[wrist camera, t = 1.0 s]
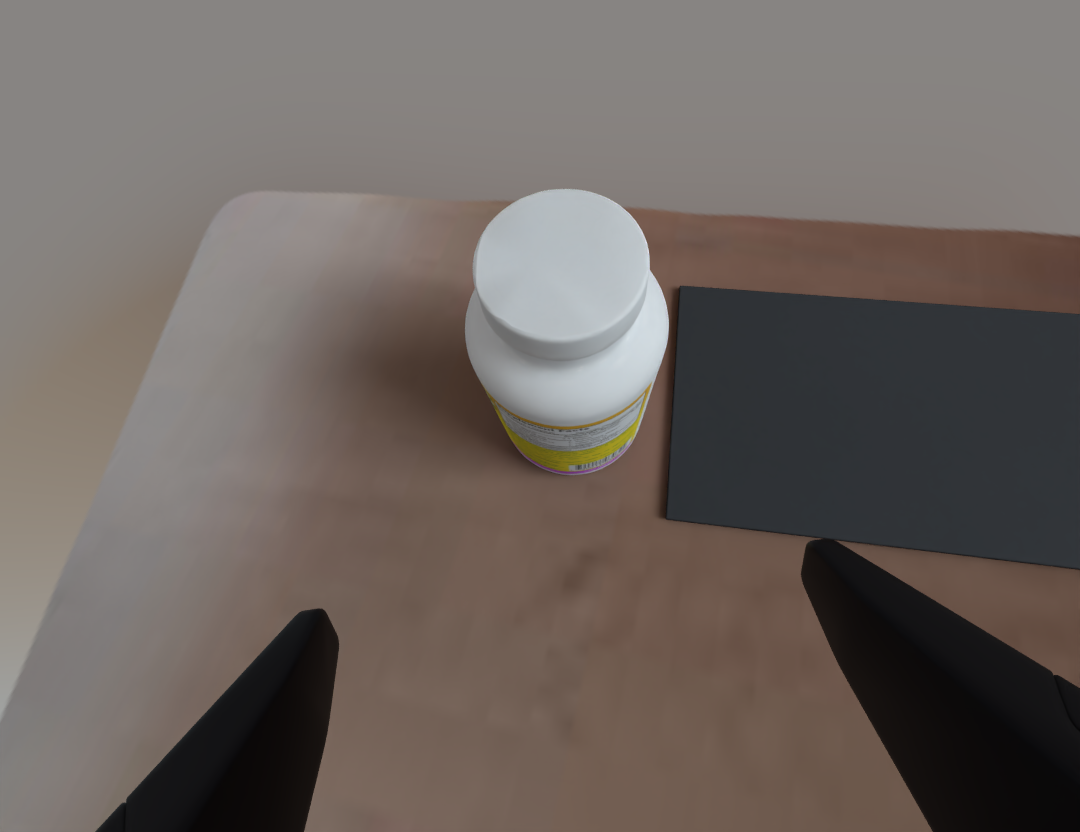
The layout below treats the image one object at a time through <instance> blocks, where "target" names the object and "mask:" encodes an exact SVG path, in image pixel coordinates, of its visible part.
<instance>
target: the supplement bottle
mask: <svg viewBox="0 0 1080 832" xmlns="http://www.w3.org/2000/svg"><path fill="white" fill-rule="evenodd" d="M649 268H650V259H649V250H648V246H647V242H646V239H645V237H644V234H643V232H642V230H641V229H640V227H639V225H638V224H637V222H636V221H635V220H634V219H633V217H632V216H631V215H630V214H629V213H628V212H627V211H626V210H625V209H623V208H622V207H621V206H620V205H618V204H617V203H615V202H613V201H612V200H610V199H608V198H606V197H603V196H601V195H599V194H596V193H593V192H588V191H584V190H576V189H553V190H546V191H542V192H538V193H534V194H531V195H528V196H526V197H523V198H521V199H519V200H517V201H515V202H514V203H512V204H510V205H509V206H508V207H506V208H505V209H503V210H502V211H501V212H500V213H499V214H498V215H497V216H496V217H495V218H494V219H493V220H492V221H491V222H490V223H489V225H488V226H487V227H486V229H485V230H484V232H483V233H482V235H481V237H480V239H479V241H478V244H477V247H476V250H475V253H474V259H473V280H474V285H475V290H474V292H473V294H472V296H471V299H470V302H469V305H468V309H467V314H466V319H465V339H466V346H467V351H468V355H469V358H470V361H471V364H472V366H473V368H474V370H475V372H476V375H477V377H478V378H479V380H480V382H481V384H482V386H483V388H484V389H485V391H486V393H487V395H488V397H489V399H490V401H491V403H492V404H493V406H494V408H495V410H496V412H497V414H498V416H499V418H500V420H501V422H502V424H503V426H504V428H505V429H506V431H507V433H508V435H509V437H510V438H511V440H512V442H513V443H514V445H515V446H516V448H517V449H518V450H519V451H520V453H521V454H522V455H523V456H524V457H525V458H527V459H528V460H529V461H530V462H532V463H533V464H535V465H536V466H538V467H540V468H542V469H544V470H547V471H550V472H554V473H557V474H563V475H582V474H588V473H592V472H595V471H598V470H600V469H602V468H604V467H606V466H608V465H610V464H611V463H613V462H614V461H616V460H617V459H618V458H619V457H620V456H621V455H622V454H623V453H624V452H625V451H626V450H627V449H628V448H629V446H630V445H631V443H632V442H633V440H634V438H635V436H636V434H637V432H638V429H639V426H640V424H641V421H642V418H643V415H644V412H645V409H646V406H647V403H648V400H649V396H650V393H651V390H652V387H653V384H654V381H655V378H656V375H657V373H658V370H659V367H660V365H661V362H662V359H663V356H664V353H665V349H666V346H667V340H668V330H669V319H668V312H667V306H666V302H665V299H664V296H663V293H662V290H661V288H660V286H659V284H658V282H657V280H656V279H655V277H654V275H653V274H652V273H651V271H650V270H649Z"/></svg>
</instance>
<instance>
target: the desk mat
mask: <svg viewBox="0 0 1080 832" xmlns="http://www.w3.org/2000/svg"><path fill="white" fill-rule="evenodd" d="M666 519H667V520H675V521H683V522H691V523H700V524H708V525H716V526H724V527H733V528H741V529H749V530H758V531H766V532H774V533H782V534H791V535H799V536H807V537H815V538H824V539H832V540H840V541H848V542H857V543H865V544H873V545H881V546H890V547H898V548H906V549H914V550H923V551H931V552H939V553H948V554H956V555H964V556H972V557H981V558H989V559H997V560H1005V561H1014V562H1022V563H1030V564H1038V565H1047V566H1055V567H1063V568H1071V569H1080V314H1069V313H1055V312H1041V311H1027V310H1013V309H999V308H985V307H971V306H957V305H943V304H929V303H915V302H901V301H887V300H873V299H859V298H845V297H831V296H817V295H803V294H789V293H775V292H761V291H747V290H733V289H719V288H705V287H691V286H680V288H679V303H678V320H677V337H676V353H675V370H674V387H673V403H672V420H671V437H670V454H669V470H668V487H667V504H666Z"/></svg>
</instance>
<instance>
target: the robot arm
mask: <svg viewBox="0 0 1080 832" xmlns="http://www.w3.org/2000/svg"><path fill="white" fill-rule="evenodd" d="M801 577H802V582H803V585H804V588H805V590H806V592H807V594H808V597H809V599H810V601H811V604H812V606H813V608H814V610H815V613H816V615H817V617H818V620H819V622H820V624H821V626H822V629H823V631H824V633H825V636H826V638H827V640H828V642H829V645H830V647H831V649H832V652H833V654H834V656H835V658H836V660H837V662H838V664H839V666H840V668H841V670H842V672H843V674H844V675H845V677H846V679H847V681H848V683H849V684H850V686H851V688H852V690H853V691H854V693H855V695H856V697H857V698H858V700H859V702H860V704H861V706H862V707H863V709H864V711H865V713H866V714H867V716H868V718H869V720H870V721H871V723H872V725H873V727H874V729H875V730H876V732H877V734H878V736H879V737H880V739H881V741H882V743H883V744H884V746H885V748H886V750H887V751H888V753H889V755H890V757H891V759H892V760H893V762H894V764H895V766H896V767H897V769H898V771H899V773H900V774H901V776H902V778H903V780H904V781H905V783H906V785H907V787H908V789H909V790H910V792H911V794H912V796H913V797H914V799H915V801H916V803H917V804H918V806H919V808H920V810H921V812H922V813H923V815H924V817H925V819H926V820H927V822H928V824H929V826H930V827H931V829H932V831H933V832H1080V688H1079V687H1077V686H1075V685H1074V684H1072V683H1070V682H1069V681H1067V680H1065V679H1064V678H1062V677H1060V676H1058V675H1054V676H1053V673H1052V672H1051V671H1050V670H1048V669H1047V668H1045V667H1043V666H1042V665H1040V664H1039V663H1037V662H1035V661H1034V660H1032V659H1030V658H1029V657H1027V656H1025V655H1024V654H1022V653H1020V652H1019V651H1017V650H1015V649H1014V648H1012V647H1010V646H1009V645H1007V644H1005V643H1004V642H1002V641H1000V640H999V639H997V638H996V637H994V636H992V635H991V634H989V633H987V632H986V631H984V630H982V629H981V628H979V627H977V626H976V625H974V624H972V623H971V622H969V621H967V620H966V619H964V618H962V617H961V616H959V615H957V614H956V613H954V612H953V611H951V610H949V609H948V608H946V607H944V606H943V605H941V604H939V603H938V602H936V601H934V600H933V599H931V598H929V597H928V596H926V595H924V594H923V593H921V592H919V591H918V590H916V589H914V588H913V587H911V586H910V585H908V584H906V583H905V582H903V581H901V580H900V579H898V578H896V577H895V576H893V575H891V574H890V573H888V572H886V571H885V570H883V569H881V568H880V567H878V566H876V565H875V564H873V563H872V562H870V561H868V560H867V559H865V558H863V557H862V556H860V555H858V554H857V553H855V552H853V551H852V550H850V549H848V548H847V547H845V546H843V545H842V544H840V543H838V542H837V541H835V540H832V539H821V540H813V541H810V542H808V544H807V545H806V548H805V554H804V559H803V565H802V570H801ZM338 652H339V640H338V636H337V634H336V631H335V629H334V627H333V625H332V623H331V621H330V619H329V617H328V615H327V613H326V612H325V610H323V609H320V608H319V609H312V610H305V611H301V612H299V613H298V614H297V615H296V616H295V617H294V618H293V619H292V620H291V621H290V622H289V623H288V624H287V626H286V627H285V628H284V629H283V630H282V631H281V632H280V633H279V634H278V635H277V636H276V637H275V639H274V640H273V641H272V642H271V643H270V644H269V645H268V646H267V647H266V648H265V649H264V650H263V651H262V653H261V654H260V655H259V656H258V657H257V658H256V659H255V660H254V661H253V662H252V663H251V664H250V665H249V667H248V668H247V669H246V670H245V671H244V672H243V673H242V674H241V675H240V676H239V677H238V678H237V680H236V681H235V682H234V683H233V684H232V685H231V686H230V687H229V688H228V689H227V690H226V691H225V692H224V694H223V695H222V696H221V697H220V698H219V699H218V700H217V701H216V702H215V703H214V704H213V705H212V707H211V708H210V709H209V710H208V711H207V712H206V713H205V714H204V715H203V716H202V717H201V718H200V719H199V721H198V722H197V723H196V724H195V725H194V726H193V727H192V728H191V729H190V730H189V731H188V732H187V734H186V735H185V736H184V737H183V738H182V739H181V740H180V741H179V742H178V743H177V744H176V745H175V746H174V748H173V749H172V750H171V751H170V752H169V753H168V754H167V755H166V756H165V757H164V758H163V759H162V761H161V762H160V763H159V764H158V765H157V766H156V767H155V768H154V769H153V770H152V771H151V772H150V773H149V775H148V776H147V777H146V778H145V779H144V780H143V781H142V782H141V783H140V784H139V785H138V786H137V788H136V789H135V790H134V791H133V792H132V793H131V794H130V795H129V796H128V797H127V799H126V803H122V804H121V805H120V806H119V807H118V808H117V809H116V810H115V811H114V812H113V813H112V814H111V815H110V816H109V817H108V819H107V820H106V821H105V822H104V823H103V824H102V825H101V826H100V827H99V828H98V829H97V830H96V831H95V832H304V830H305V825H306V821H307V817H308V813H309V809H310V805H311V801H312V796H313V792H314V788H315V784H316V780H317V776H318V771H319V767H320V763H321V759H322V755H323V751H324V746H325V742H326V737H327V732H328V726H329V719H330V712H331V704H332V697H333V689H334V682H335V674H336V667H337V659H338Z"/></svg>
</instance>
